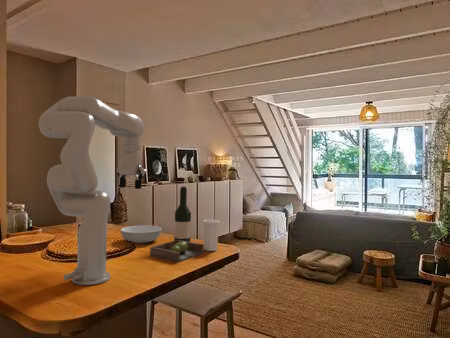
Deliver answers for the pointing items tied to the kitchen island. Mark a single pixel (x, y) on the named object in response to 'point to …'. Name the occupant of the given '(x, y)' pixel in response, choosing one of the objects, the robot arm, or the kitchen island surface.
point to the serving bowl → (141, 233)
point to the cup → (211, 234)
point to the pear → (180, 247)
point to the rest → (165, 251)
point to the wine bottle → (182, 218)
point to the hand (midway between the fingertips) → (130, 188)
